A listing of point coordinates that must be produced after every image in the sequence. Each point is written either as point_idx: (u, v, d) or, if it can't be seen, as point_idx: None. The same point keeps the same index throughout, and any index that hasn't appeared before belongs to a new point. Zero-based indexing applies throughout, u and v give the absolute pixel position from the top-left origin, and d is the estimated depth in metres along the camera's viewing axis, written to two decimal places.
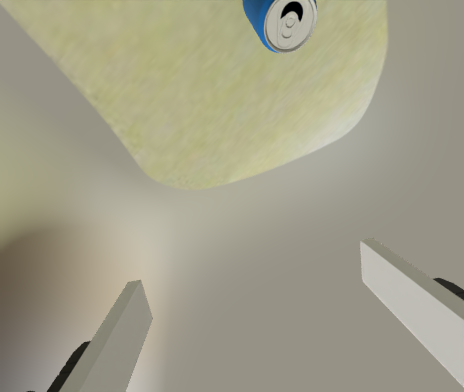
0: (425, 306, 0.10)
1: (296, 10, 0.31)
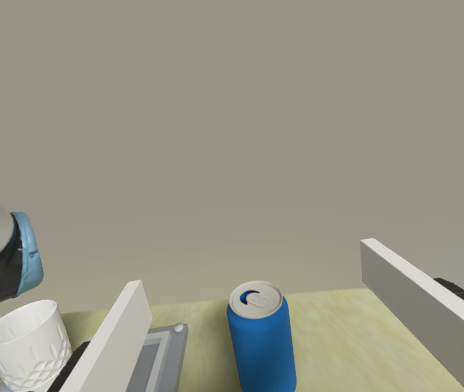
0: (424, 306, 0.10)
1: None
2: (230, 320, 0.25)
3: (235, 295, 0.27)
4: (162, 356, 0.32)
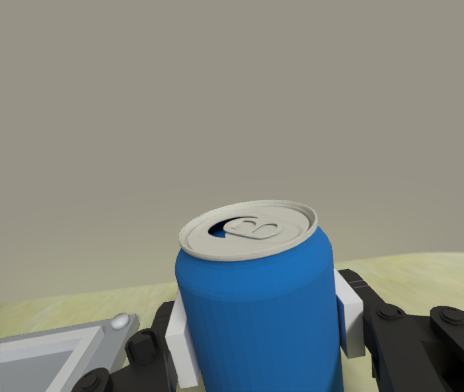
0: None
1: None
2: (178, 277, 0.09)
3: (199, 226, 0.11)
4: (69, 373, 0.16)
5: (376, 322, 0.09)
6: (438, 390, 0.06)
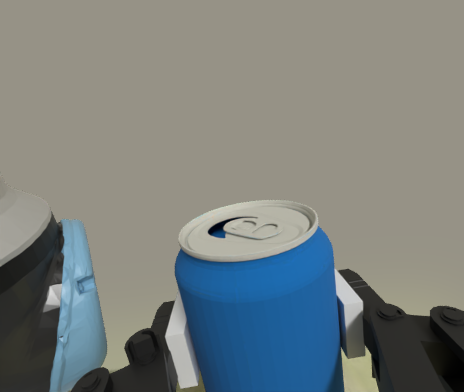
0: None
1: None
2: (178, 277, 0.09)
3: (199, 226, 0.11)
4: None
5: (376, 322, 0.09)
6: (438, 390, 0.06)
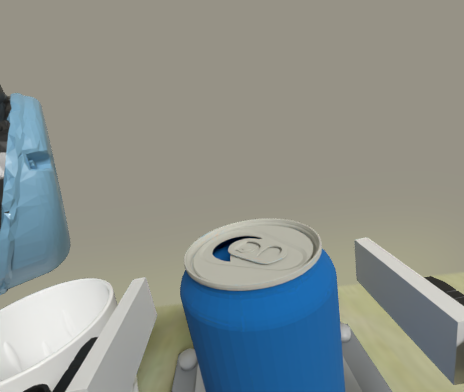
0: (415, 304, 0.10)
1: None
2: (184, 301, 0.09)
3: (203, 246, 0.11)
4: None
5: None
6: None
